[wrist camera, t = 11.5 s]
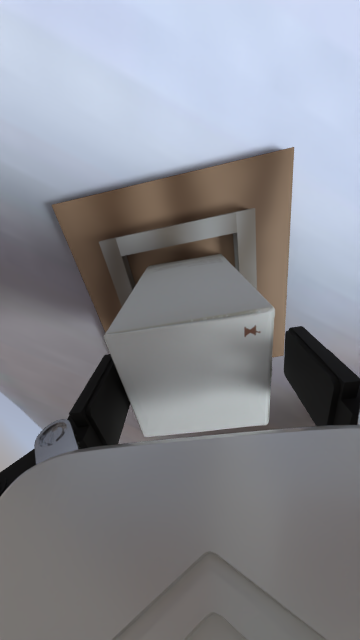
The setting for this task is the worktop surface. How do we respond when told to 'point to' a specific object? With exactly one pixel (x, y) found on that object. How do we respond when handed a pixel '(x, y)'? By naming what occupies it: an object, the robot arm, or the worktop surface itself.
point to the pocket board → (187, 230)
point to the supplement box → (194, 348)
